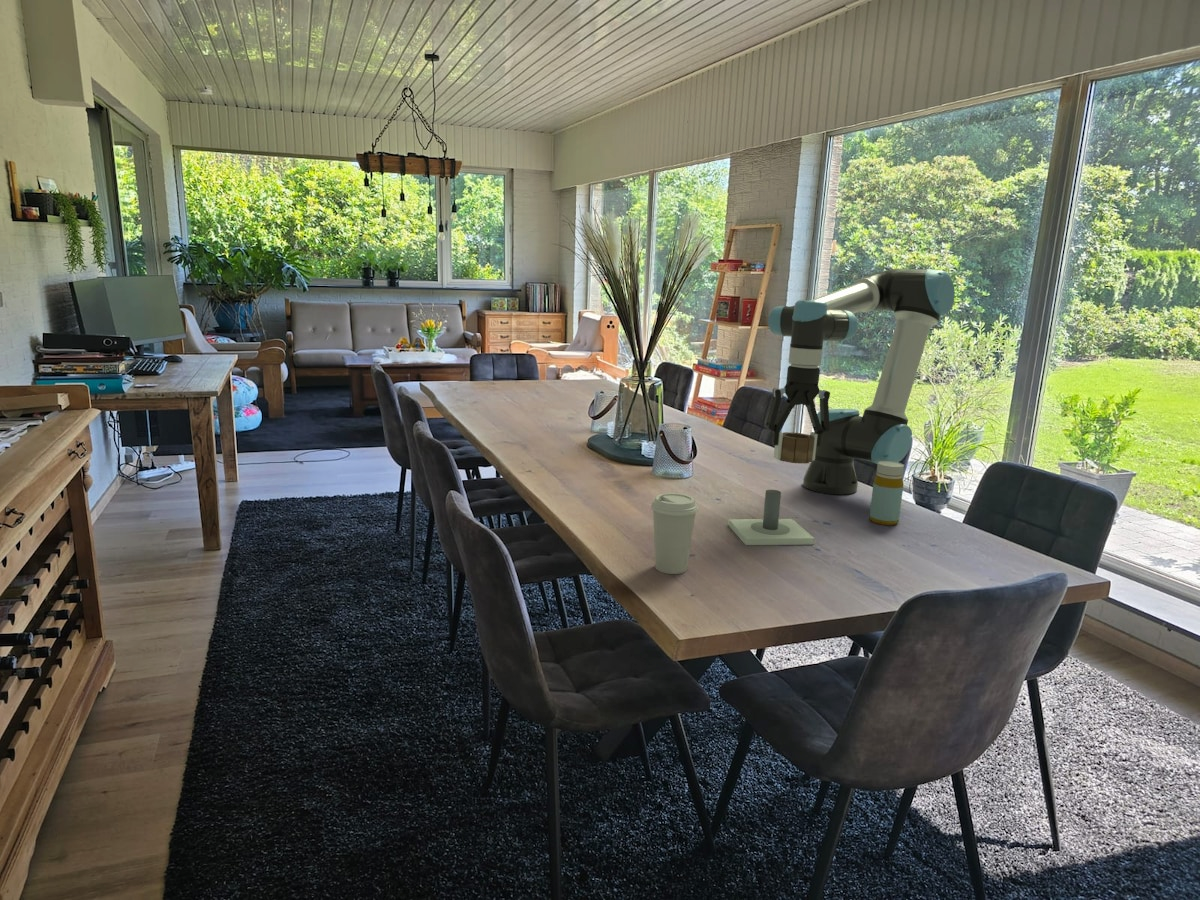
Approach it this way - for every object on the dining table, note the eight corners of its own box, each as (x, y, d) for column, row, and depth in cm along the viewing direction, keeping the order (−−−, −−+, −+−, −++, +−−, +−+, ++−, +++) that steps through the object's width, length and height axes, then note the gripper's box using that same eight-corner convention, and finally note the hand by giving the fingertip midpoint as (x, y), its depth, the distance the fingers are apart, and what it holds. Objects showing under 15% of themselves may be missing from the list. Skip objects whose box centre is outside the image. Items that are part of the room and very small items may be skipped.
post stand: (791, 524, 189) (795, 483, 187) (813, 544, 176) (818, 500, 173) (728, 525, 187) (731, 483, 185) (745, 545, 174) (749, 500, 171)
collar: (803, 456, 193) (806, 433, 192) (815, 463, 185) (818, 439, 184) (773, 455, 192) (775, 432, 191) (784, 462, 185) (786, 438, 183)
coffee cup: (644, 559, 163) (648, 491, 159) (689, 559, 164) (693, 491, 160) (651, 577, 154) (655, 505, 150) (698, 577, 154) (703, 505, 151)
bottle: (898, 519, 196) (905, 462, 193) (898, 527, 190) (906, 468, 187) (869, 515, 199) (875, 459, 195) (869, 523, 192) (876, 465, 189)
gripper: (839, 365, 189) (828, 456, 194) (757, 362, 186) (748, 454, 191) (852, 369, 182) (841, 463, 186) (767, 366, 179) (757, 461, 184)
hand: (794, 458), depth 189 cm, fingers closed on collar, 8 cm apart
